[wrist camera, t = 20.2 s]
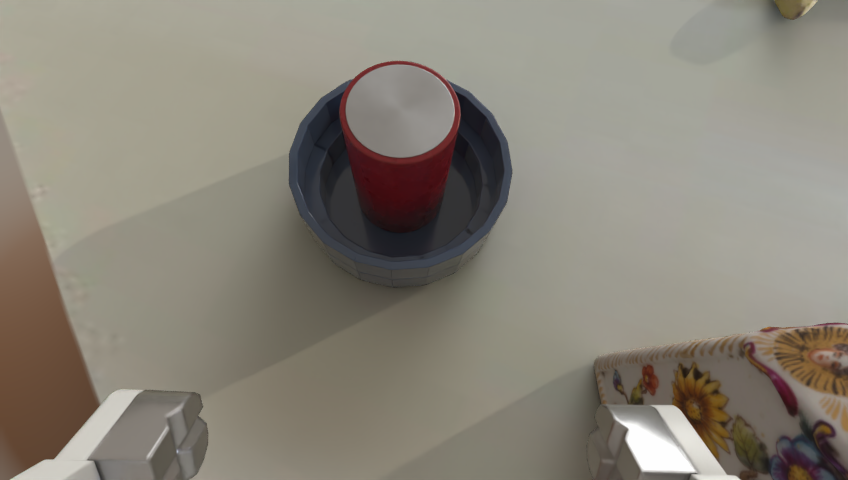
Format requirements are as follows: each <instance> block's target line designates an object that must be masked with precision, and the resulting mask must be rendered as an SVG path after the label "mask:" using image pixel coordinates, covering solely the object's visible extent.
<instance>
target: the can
mask: <svg viewBox="0 0 848 480" xmlns="http://www.w3.org/2000/svg"><path fill="white" fill-rule="evenodd" d="M339 115H340V122H341V127H342V131H343V135H344V140H345V144H346V149H347V153H348V157H349V162H350V166H351V170H352V175H353V179H354V184H355V188H356V192H357V197H358V201H359V205H360V207H361V210H362V211H363V213H364V215H365V216H366V217H367V218H368V220H370V221H371V222H372V223H373V224H374V225H376V226H377V227H379V228H381V229H384V230H386V231H390V232H396V233H405V232H411V231H415V230H418V229H420V228H422V227H424V226H425V225H427V224H428V223H430V222H431V221H432V220H433V219H434V217H435V216H436V215H437V213H438V212H439V210H440V207H441V205H442V201H443V196H444V192H445V187H446V183H447V178H448V174H449V169H450V165H451V160H452V156H453V151H454V147H455V142H456V138H457V133H458V129H459V124H460V117H461V112H460V104H459V101H458V98H457V95H456V93H455V91H454V90H453V88H452V87H451V85H450V84H449V83H448V81H447V80H446V79H445V78H444V77H442V76H441V75H440V74H439V73H437V72H436V71H434V70H433V69H431V68H428V67H426V66H424V65H421V64H418V63H414V62H408V61H390V62H384V63H380V64H377V65H374V66H372V67H370V68H368V69H366V70H364V71H363V72H361V73H360V74H359V75H357V76H356V77H355V78H354V79H353V80H352V81H351V82H350V84H349V85H348V86H347V88H346V90H345V92H344V94H343V96H342V99H341V103H340V111H339Z"/></svg>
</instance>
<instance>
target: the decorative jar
mask: <svg viewBox="0 0 848 480" xmlns="http://www.w3.org/2000/svg"><path fill="white" fill-rule="evenodd" d="M594 370H595V375H596V379H597V385H598V390H599V395H600V400H601V404H627V405H674V406H676V407H677V408H679V409H680V410H681V411H682V413H683V414H684V416H685V417H686V418H687V420H688V421H689V423H690V424H691V425H692V427H693V428H694V430H695V431H696V432H697V434H698V435H699V437H700V438H701V439H702V441H703V442H704V443H705V445H706V446H707V448H708V449H709V450H710V452H711V453H712V455H713V456H714V457H715V459H716V460H717V462H718V463H719V464H720V466H721V467H722V468H723V470H724V471H725V473H726V474H727V475H734V476H737V477H738V478H739V479H741V480H848V324H845V323H826V324H818V325H814V326H808V327H786V328H779V327H767V328H764V329H762V330H760V331H755V332H749V333H744V334H734V335H730V336H726V337H723V338H722V337H719V338H709V339H703V340H694V341H689V342H681V343H675V344H668V345H661V346H653V347H645V348H637V349H630V350H625V351H619V352H613V353H608V354H603V355H601V356H598V357H597V358H596V359H595V362H594Z"/></svg>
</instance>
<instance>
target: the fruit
mask: <svg viewBox="0 0 848 480" xmlns="http://www.w3.org/2000/svg"><path fill="white" fill-rule="evenodd" d="M817 1H818V0H775V3H776V5H777V7H778V9H779V10H780V12H781V14H782V16H784V17H785V18H788V19H792V20H794V19H797V18H799V17H802V16H803V15H804V14H805V13H807V12H808V11H809V10H810V9H811V8H812V7H813V6H814V4H815V3H816V2H817Z"/></svg>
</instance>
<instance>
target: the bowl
mask: <svg viewBox="0 0 848 480" xmlns="http://www.w3.org/2000/svg"><path fill="white" fill-rule="evenodd" d="M352 80H353V79H352ZM352 80H349V81H346V82H345V83H343V84H342V85H340V86H339V87H337V88H336V89H334V90H333V91H331V92H330V93H328V94H327V95H325V96H324V97H322V98H321V99H320V100H319V101H318V102H317V103H316V105H315V106H314V107H313V108H312V109H311V111H310V112H309V113H308V114H307V116H306V117H305V118H304V119H303V120H302V122H301V123H300V125H299V128H298V131H297V133H296V136H295V139H294V141H293V144H292V147H291V149H290V153H289V186H290V189H291V191H292V194H293V197H294V200H295V202H296V205H297V208H298V211H299V213H300V216H301V217H302V219H303V221H304V223H305V224H306V226H307V228H308V229H309V231H310V233H311V235H312V236H313V238H314V240H315V241H316V242H317V244H318V245H319V246H320V247H321V248H322V250H323V251H324V252H325V253H326V254H327V256H328V257H329V258H330V259H331V260H332V262H333V263H335V264H336V265H337V266H339V267H341V268H342V269H344V270H346V271H347V272H349V273H350V274H352V275H354V276H355V277H357V278H359V279H362V280H363V281H368V282H372V283H376V284H380V285H385V286H389V287H406V286H419V285H427V284H429V283H431V282H434V281H436V280H439V279H441V278H444V277H446V276H449V275H451V274H454V273H455V272H456V271H458V270H459V269H460V268H461V267H462V266H463V265H465V264H466V263H467V262H468V261H469V260H470V259H472V258H473V257H474V256H475V255H476V254H477V253H478V252H479V250H480V248H481V247H482V245H483V243H484V242H485V240H486V238H487V236H488V235H489V233H490V231H491V230H492V228H493V226H494V224H495V223H496V221H497V219H498V217H499V216H500V214H501V212H502V210H503V209H504V207H505V205H506V203H507V199H508V194H509V188H510V183H511V177H512V166H511V160H510V154H509V148H508V142H507V140H506V138H505V136H504V134H503V132H502V130H501V128H500V127H499V125H498V123H497V121H496V119H495V117H494V116H493V114H492V113H491V112H490V111H489V110H488V109H487V108H486V107H485V106H484V105H483V104H482V103H481V102H480V101H479V100H478V99H477V98H476V97H475V96H474V95H473V94H471V93H470V92H469V91H467V90H465V89H463V88H461V87H460V86H458V85H456V84H454V83H452V82H450V81H448V80H447V81H448V83H449V84H450V85H451V87H452V88H453V90H454V91H455V93H456V95H457V98H458V101H459V104H460V112H461V117H460V124H459V129H458V133H457V138H456V142H455V147H454V151H453V156H452V160H451V165H450V169H449V174H448V178H447V183H446V187H445V192H444V196H443V201H442V205H441V207H440V210H439V212H438V213H437V215H436V216H435V217H434V219H433V220H432V221H431V222H430V223H428V224H427V225H425V226H424V227H422V228H420V229H418V230H415V231H411V232H405V233H396V232H390V231H386V230H384V229H381V228H379V227H377V226H376V225H374V224H373V223H372V222H371V221H370V220H368V218H367V217H366V216H365V215H364V213H363V211H362V210H361V207H360V205H359V201H358V197H357V192H356V188H355V184H354V179H353V175H352V170H351V166H350V162H349V157H348V153H347V149H346V144H345V140H344V135H343V131H342V127H341V122H340V115H339V111H340V103H341V99H342V96H343V94H344V92H345V90H346V88H347V86H348V85H349V84H350V82H351V81H352Z"/></svg>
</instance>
